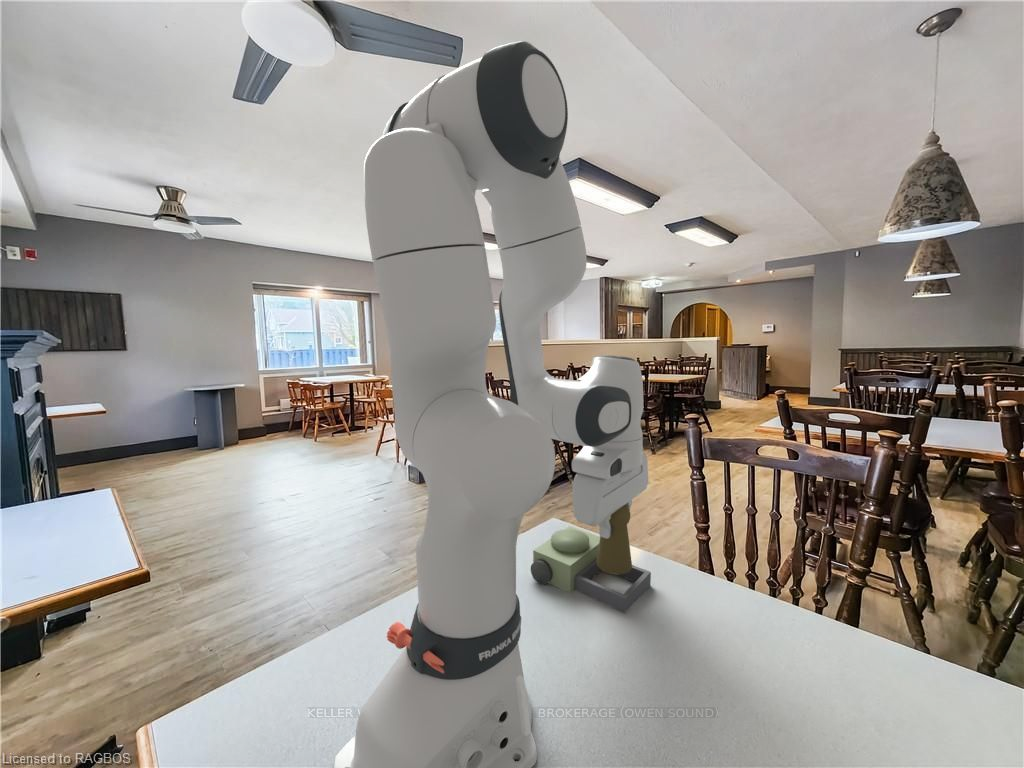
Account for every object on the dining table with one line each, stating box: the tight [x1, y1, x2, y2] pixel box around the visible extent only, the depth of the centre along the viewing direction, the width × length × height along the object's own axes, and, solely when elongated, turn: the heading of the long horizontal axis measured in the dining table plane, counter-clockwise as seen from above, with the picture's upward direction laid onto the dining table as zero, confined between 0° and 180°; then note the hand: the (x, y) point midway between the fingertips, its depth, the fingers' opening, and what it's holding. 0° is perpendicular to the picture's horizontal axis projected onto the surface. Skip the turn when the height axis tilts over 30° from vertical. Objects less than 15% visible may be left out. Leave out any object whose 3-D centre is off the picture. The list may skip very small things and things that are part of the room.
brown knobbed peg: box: [596, 505, 633, 575], centre depth 74 cm, size 6×6×11 cm
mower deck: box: [530, 526, 652, 614], centre depth 77 cm, size 14×18×6 cm
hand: (614, 529), depth 74 cm, fingers closed on brown knobbed peg, 4 cm apart
